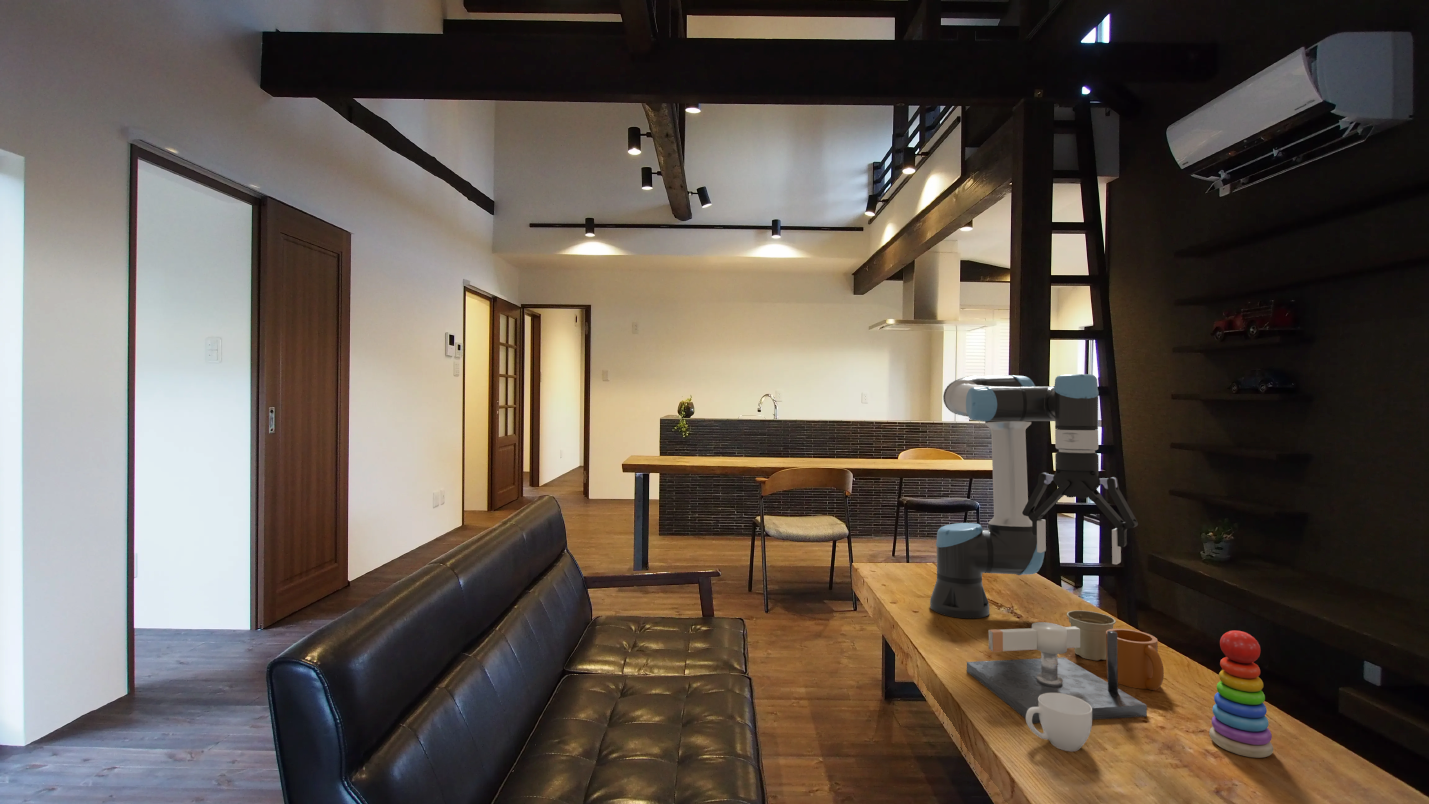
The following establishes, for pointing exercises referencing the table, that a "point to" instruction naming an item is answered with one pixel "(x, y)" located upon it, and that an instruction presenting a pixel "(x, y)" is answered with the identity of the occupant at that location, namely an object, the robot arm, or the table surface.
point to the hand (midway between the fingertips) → (1077, 557)
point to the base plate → (1058, 683)
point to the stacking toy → (1240, 699)
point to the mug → (1138, 659)
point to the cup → (1062, 720)
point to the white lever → (1035, 638)
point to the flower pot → (1091, 633)
